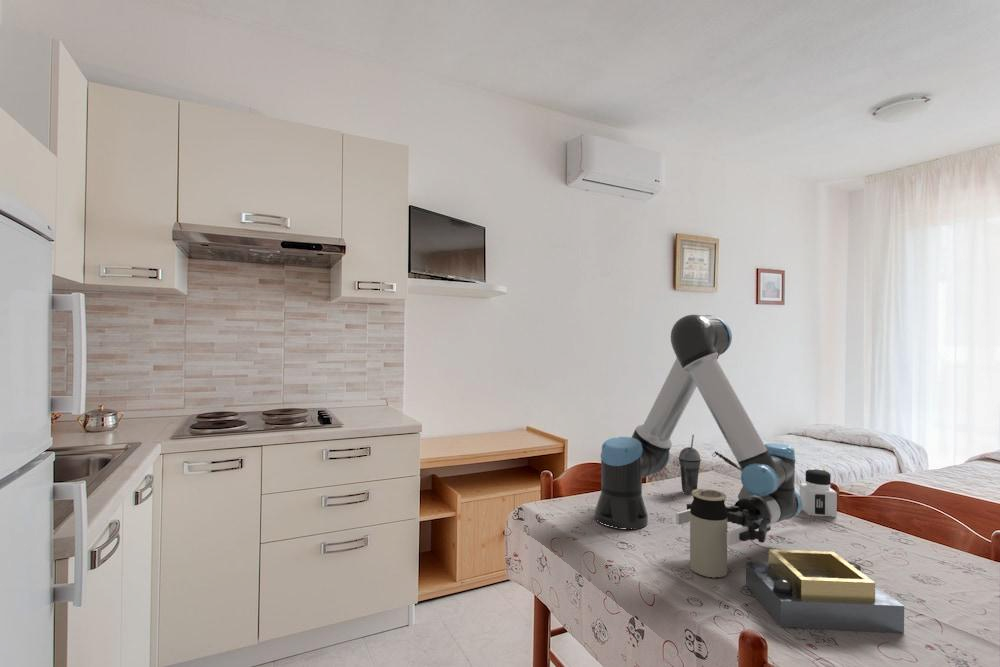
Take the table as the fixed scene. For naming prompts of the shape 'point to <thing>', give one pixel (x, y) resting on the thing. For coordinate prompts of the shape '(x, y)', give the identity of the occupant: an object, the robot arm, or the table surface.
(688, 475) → the beverage cup
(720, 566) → the travel mug
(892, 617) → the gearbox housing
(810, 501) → the container
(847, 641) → the table surface
